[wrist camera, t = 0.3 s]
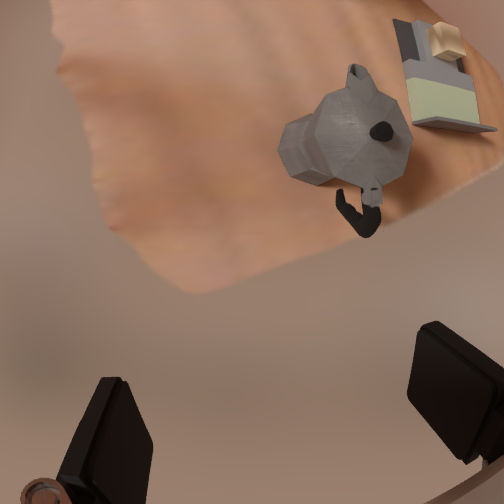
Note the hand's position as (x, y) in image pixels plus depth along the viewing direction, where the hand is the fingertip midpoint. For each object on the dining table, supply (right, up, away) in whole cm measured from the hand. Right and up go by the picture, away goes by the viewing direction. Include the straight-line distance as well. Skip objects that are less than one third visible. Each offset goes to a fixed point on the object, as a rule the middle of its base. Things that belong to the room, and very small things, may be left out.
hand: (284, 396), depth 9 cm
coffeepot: (+7, +16, +29) cm, 34 cm away
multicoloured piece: (+28, +32, +28) cm, 51 cm away
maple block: (+28, +37, +25) cm, 52 cm away
